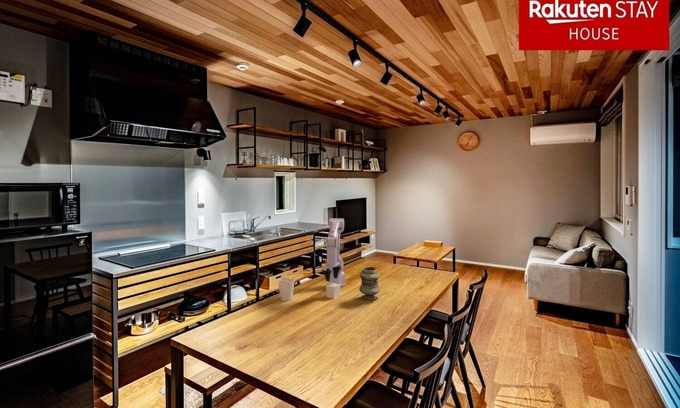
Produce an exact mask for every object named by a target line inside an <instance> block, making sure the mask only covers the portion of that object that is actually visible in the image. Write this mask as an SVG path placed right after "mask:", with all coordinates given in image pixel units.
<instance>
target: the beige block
mask: <svg viewBox="0 0 680 408" xmlns="http://www.w3.org/2000/svg"><path fill="white" fill-rule="evenodd" d="M325 296H326V298H329V299H337V298H340V297H341V286H340V284H336V283H330V282H329V283H328V285H327V284H326V286H325Z"/></svg>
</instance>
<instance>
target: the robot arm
mask: <svg viewBox="0 0 680 408" xmlns="http://www.w3.org/2000/svg"><path fill="white" fill-rule="evenodd" d="M328 228H329V232H328V236H327V238H326V239H325V246H326V263H325V265H324V266H322V269H321V271H322V273H323V275H324V278H325V282H328V284H330V283H336V284H340V287H344V286H346V285H347V284H346V277H345V276H346V275H345V272H344V260H343V259H342V258H341V257H340V247H341V246H340V244H341V242H340V241H341V234H342V232H344V229H345V219H344V218H331V217H330V218H329V219H328ZM328 284H326V285H328Z"/></svg>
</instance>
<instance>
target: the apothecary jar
mask: <svg viewBox="0 0 680 408" xmlns="http://www.w3.org/2000/svg"><path fill="white" fill-rule="evenodd" d="M380 275H381V274H380V273H379V271H378V268H377V267H376V266H364V267H362V269H361V271H360V273H359V277H360V279H361V283H360V284H361V285H360V286H359V287H358V288H359V289H358V290H359V292H360V293H361V294H363V295H362V296H361V297H360V299H361V300H362V301H366V302H375V301H377V300H378V299H379V298H378V296H377V295H378V293H380V291H381V287H380V286H379V283H378V281H379V278H380Z"/></svg>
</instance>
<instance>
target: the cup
mask: <svg viewBox="0 0 680 408" xmlns="http://www.w3.org/2000/svg"><path fill="white" fill-rule="evenodd" d="M294 286H295V278H294V277H292V276H282V277H280V278H279V279H278V290H279V296H280V301H282V302H289V301H292V300H293V297H294V288H295V287H294Z"/></svg>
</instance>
